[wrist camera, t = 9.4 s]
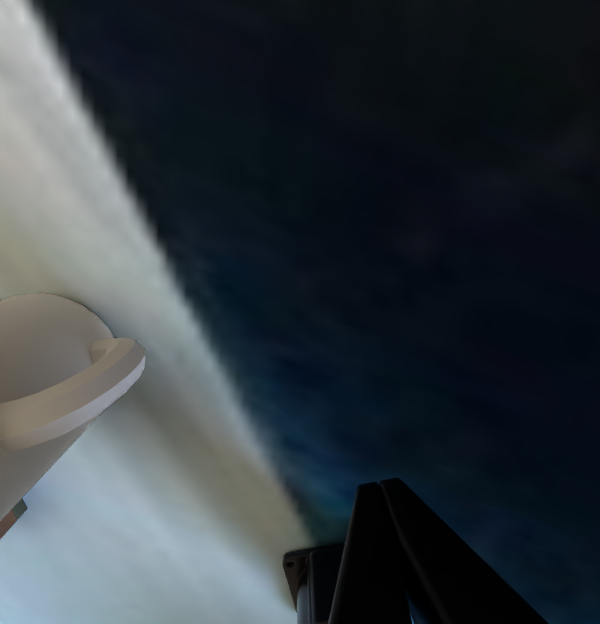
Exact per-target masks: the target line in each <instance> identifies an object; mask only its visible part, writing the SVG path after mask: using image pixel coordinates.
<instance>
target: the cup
mask: <svg viewBox="0 0 600 624" xmlns="http://www.w3.org/2000/svg"><path fill="white" fill-rule="evenodd" d="M144 368H145V349H144V348H143V347H142V346H141V345H140V344H139V343H138V342H137V341H136V340H135V339H131V338H114V336H113V334H112V333H111V331H110V329H109V328H108V327H107V326H106V325H105V324H104V322H103V321H102V320H101V319H100V318H99V317H98V316H97V315H96V314H94V313H93V312H91V311H89V310H88V309H86V308H85V307H83V306H82V305H80V304H79V303H77V302H74V301H72V300H69V299H66V298H64V297H61V296H58V295H51V294H44V293H33V294H24V295H17V296H13V297H8V298H5V299H2V300H0V521H1V520H2V519H3V518H4V517H5V516H6V514H7V513H8V512H9V511H10V510H11V509H12V508H13V507H14V506H15V505H16V504H17V503H18V502H19V501H20V500H21V498H22V497H23V496H24V495H25V494H26V493H27V492H28V491H29V490H30V489H31V488H32V487H33V486H34V485H35V484H36V482H37V481H38V480H39V479H40V478H41V477H42V476H43V475H44V474H45V473H46V472H47V471H48V470H49V469H50V468H51V467H52V465H53V464H54V463H55V462H56V461H57V460H58V459H59V458H60V457H61V456H62V455H63V454H64V453H65V452H66V451H67V449H68V448H69V447H70V446H71V445H72V444H73V443H74V442H75V441H76V440H77V439H78V438H79V437H80V436H81V435H82V433H83V432H84V431H85V430H86V429H87V428H88V427H89V426H90V425H91V424H92V423H93V422H94V421H95V420H96V419H97V418H98V416H99V415H100V414H101V413H102V412H103V411H104V410H105V409H106V408H107V407H108V406H110V405H111V404H112V403H113V402H115V401H116V400H117V399H118V398H119V397H121V396H122V395H123V394H124V393H125V392H127V391H128V390H129V389H130V387H131V386H132V385H133V384H134V383H135V382H136V381H137V380H138V379H139V377H140V376H141V374H142V372H143V370H144Z"/></svg>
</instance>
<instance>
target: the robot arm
mask: <svg viewBox="0 0 600 624" xmlns="http://www.w3.org/2000/svg"><path fill="white" fill-rule="evenodd" d="M283 568H284V571H285V575H286V578H287V582H288V585H289V588H290V592H291V595H292V598H293V602H294V605H295V608H296V612H297V624H412V621H411V615H412V618H413V621H414V624H548V623H547V622H546V621H545V620H544V619H543V618H542V617H541V616H540V615H539V614H538V613H537V612H536V611H535V610H534V609H533V608H532V607H531V606H530V605H529V604H528V603H527V602H526V601H525V600H524V599H523V598H522V597H521V596H520V595H519V594H518V593H517V592H516V591H515V590H514V589H513V588H511V587H510V586H509V585H508V584H507V583H506V582H505V581H504V580H503V579H502V578H501V577H500V576H499V575H498V574H497V573H496V572H495V571H494V570H493V569H492V568H491V567H490V566H489V565H488V564H487V563H486V562H485V561H484V560H483V559H482V558H481V557H480V556H479V555H478V554H477V553H476V552H475V551H474V550H472V549H471V548H470V547H469V546H468V545H467V544H466V543H465V542H464V541H463V540H462V539H461V538H460V537H459V536H458V535H457V534H456V533H455V532H454V531H453V530H452V529H451V528H450V527H449V526H448V525H447V524H446V523H445V522H444V521H443V520H442V519H441V518H440V517H439V516H438V515H437V514H436V513H435V512H433V511H432V510H431V509H430V508H429V507H428V506H427V505H426V504H425V503H424V502H423V501H422V500H421V499H420V498H419V497H418V496H417V495H416V494H415V493H414V492H413V491H412V490H411V489H410V488H409V487H408V486H407V485H406V484H405V483H404V482H403V481H402V480H400V479H399V478H392V479H387V480H382V481H380V482H379V484H378V483H377V482H371V483H366V484H361V485H359V486H358V487H357V490H356V495H355V500H354V505H353V509H352V514H351V519H350V523H349V528H348V533H347V538H346V542H345V543H342V544H337V545H331V546H325V547H319V548H313V549H307V550H302V551H296V552H290V553H286V554H285V555H284V556H283ZM409 608H410V609H409ZM410 612H411V615H410Z"/></svg>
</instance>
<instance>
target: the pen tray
mask: <svg viewBox="0 0 600 624" xmlns="http://www.w3.org/2000/svg"><path fill="white" fill-rule="evenodd" d="M26 510H27V506H26V505H25V503H24V501H23V499H22V498H21V500H20V501H19V502H18V503H17V504H16V505H15V506H14V507H13V508H12V509H11V510H10V511H9V512H8V513H7V514H6V516H5V517H4V518H3V519H2V520H1V521H0V539H1V538H2V537H3V536H4V535H5V533H6V532H7V531H8V530H9V529H10V528H11V527H12V526H13V524H14V523H15V522H16V521H17V519H19V518H20V517H21V515H22V514H23V513H24V512H25V511H26Z"/></svg>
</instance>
